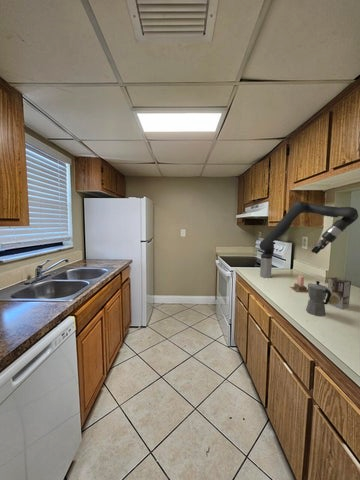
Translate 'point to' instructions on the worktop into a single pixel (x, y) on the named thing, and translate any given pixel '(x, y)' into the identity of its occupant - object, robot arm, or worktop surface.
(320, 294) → the coffeepot
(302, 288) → the holder
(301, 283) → the salmon pink brick
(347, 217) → the robot arm
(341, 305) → the coffee box
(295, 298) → the worktop surface
